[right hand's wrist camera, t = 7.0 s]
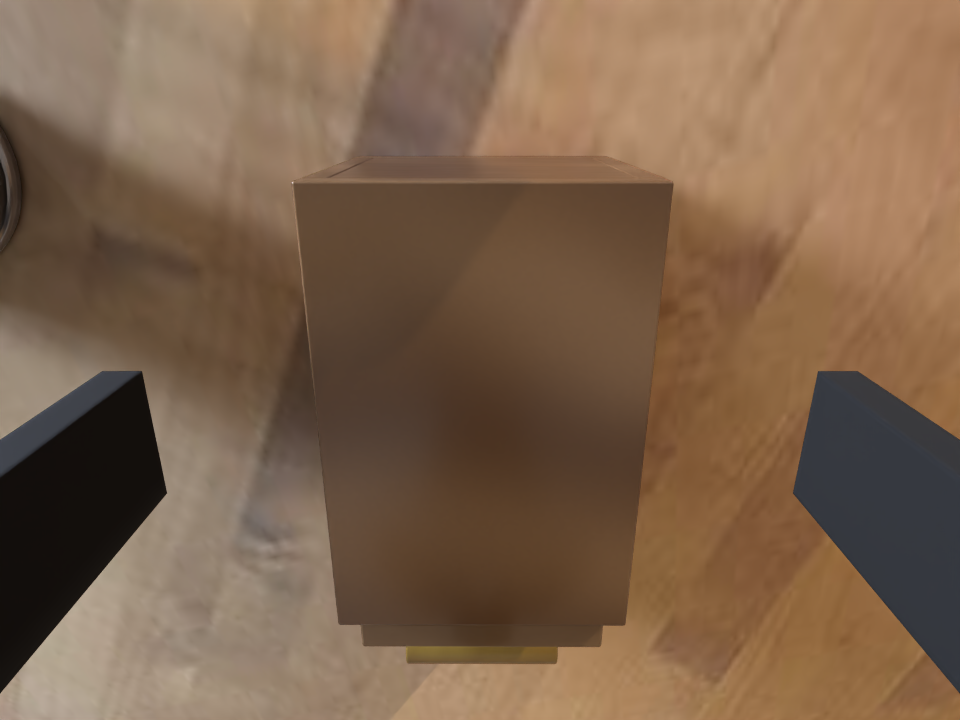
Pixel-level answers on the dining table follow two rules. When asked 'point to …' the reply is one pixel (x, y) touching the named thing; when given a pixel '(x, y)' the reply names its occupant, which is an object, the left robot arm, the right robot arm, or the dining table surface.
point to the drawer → (482, 642)
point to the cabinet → (482, 381)
